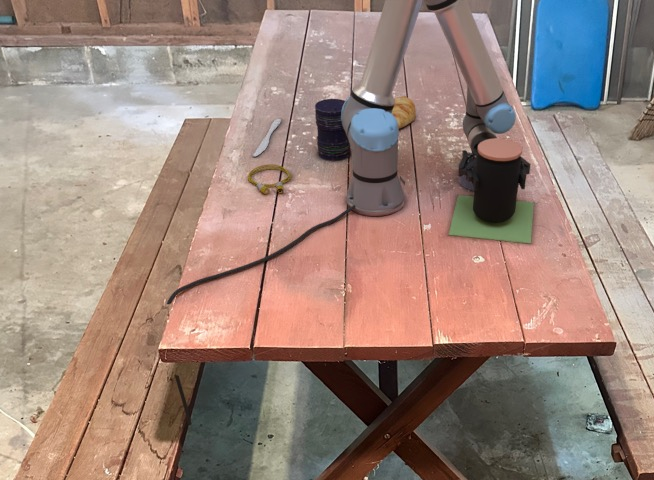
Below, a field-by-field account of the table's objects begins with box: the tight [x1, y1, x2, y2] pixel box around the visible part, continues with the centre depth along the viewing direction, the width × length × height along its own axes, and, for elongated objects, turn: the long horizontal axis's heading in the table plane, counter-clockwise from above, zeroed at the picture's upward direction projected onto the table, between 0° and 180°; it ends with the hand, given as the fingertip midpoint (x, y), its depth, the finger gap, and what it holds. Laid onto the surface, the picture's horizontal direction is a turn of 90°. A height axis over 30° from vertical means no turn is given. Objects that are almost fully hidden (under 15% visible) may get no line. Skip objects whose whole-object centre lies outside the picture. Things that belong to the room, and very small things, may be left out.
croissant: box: [391, 96, 416, 129], centre depth 226 cm, size 21×10×8 cm, turn 173°
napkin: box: [448, 194, 535, 245], centre depth 178 cm, size 20×20×1 cm
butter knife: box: [252, 118, 282, 157], centre depth 216 cm, size 1×27×3 cm
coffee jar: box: [473, 137, 523, 223], centre depth 172 cm, size 11×11×18 cm
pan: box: [457, 158, 474, 192], centre depth 194 cm, size 16×16×4 cm
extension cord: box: [247, 163, 292, 195], centre depth 194 cm, size 12×16×2 cm
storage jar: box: [314, 98, 352, 162], centre depth 203 cm, size 10×10×15 cm
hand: (500, 185), depth 168 cm, fingers closed on coffee jar, 11 cm apart
